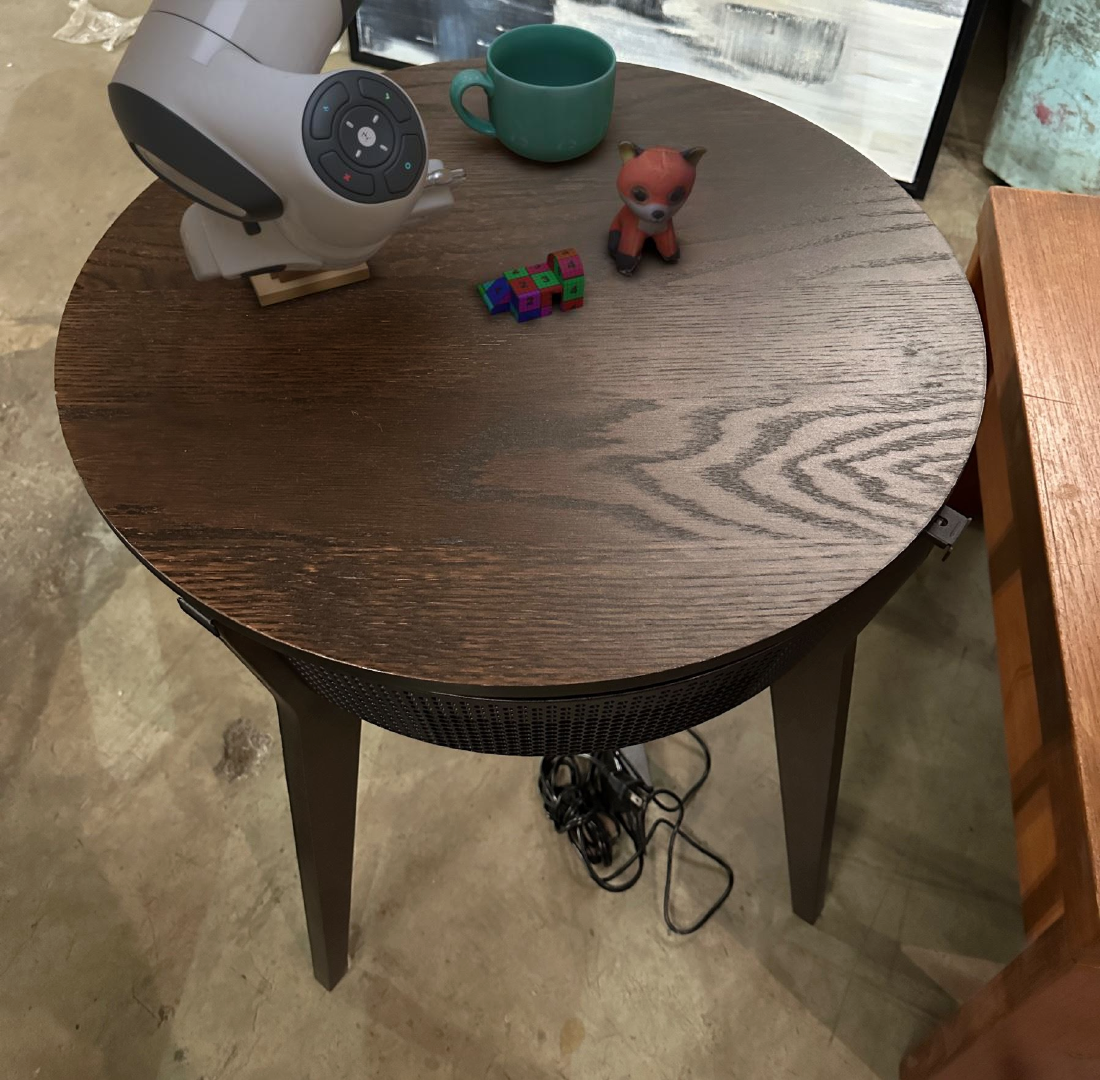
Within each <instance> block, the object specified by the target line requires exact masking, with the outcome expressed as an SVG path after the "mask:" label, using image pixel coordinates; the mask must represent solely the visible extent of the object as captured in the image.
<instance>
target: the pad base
mask: <svg viewBox="0 0 1100 1080" xmlns="http://www.w3.org/2000/svg"><path fill="white" fill-rule="evenodd" d="M248 279H249V281H250V283H251V285H252V289H253V290H254V292H255V295H256V297H257V299H258V301H259V303H260V306H261V307H266V306H269V305H273V304H277V303H281V302H284V301H289V300H292V299H297V298H300V297H303V296H307V295H311V294H315V293H319V292H323V291H327V290H330V289H334V288H337V287H338V288H339V287H341V286H344V285H349V284H354V283H357V282H360V281H361V282H362V281H364V280H368V279H371V275H370V267H369V266H368V264H367V261H366V262H364V263H362V264H361V265H359V266H356V267H354V268H350V269H346V270H338V271H330V270H322V269H319V270H314V271H303V270H286V271H281V272H275V273H267V274H262V275H256V276H251V277H248Z"/></svg>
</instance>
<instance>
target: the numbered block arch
mask: <svg viewBox="0 0 1100 1080" xmlns="http://www.w3.org/2000/svg"><path fill="white" fill-rule="evenodd" d="M476 287H477V288H476V289H477V290H476V291H477V293H478V294H479V296H480V298H481V299H482V301H483V302H484V305H485V306H486V308H487V309H488V312H489V313H490V315H496V314H501V313H505V312H508V311H510V312H511V314H512V315H513V317H514V318H515V320H516V322H517V323H518V324H520V323H523V322H527V321H528V322H529V321H531V320H535V319H539V318H543V317H546V316H550V315H552V304H553V303H552V299H553V295H554V294H555V295H556V294H559V293H560V307H559V308H560V311H561V312H565V311H570V310H574V309H578V308H581V307H584V295H585V271H584V266H583V262H582V260H581V257H580V255H579V253H578V251H577V250H576V249H575V248H573V247H570V248H567V249H562V250H558V251H554V252H550V253H548V254H547V257H546V262H542V263H538V264H534V265H529V266H525V267H520V268H516V269H512V270H509V271H508V270H507V271H504V272H502V277H499V278H496V279H493V280H490V281H487V282H485V283H482V284H480V285H477V286H476Z"/></svg>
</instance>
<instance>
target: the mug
mask: <svg viewBox="0 0 1100 1080" xmlns="http://www.w3.org/2000/svg"><path fill="white" fill-rule="evenodd" d="M485 57H486V58H485V70H486V71H485V72H483V71H482V70H479V69H474V68H468V69H464V70H462V71H460V72H458V73H457V74H456V75H455V76H454V77H453V79H452V80H451V83H450V85H449V94H448V95H449V101H450V104H451V106H452V108H453V110H454V112H455V113H456V114H457V117H459V119H460V120H461V121H462V122H463V124H465V126H467V127H468V128H470V129H471V130H472V131H474V132H476V133H478V134H481V135H484V136H486V137H491V138H497V139H498V140H499V142H501V143H502V144H503V145H504V146H505V147H506V148H508V149H509V150H510V151H512V152H514V153H516V154H517V155H518V156H521V157H525V158H528V159H530V160H533V161H537V162H542V163H558V162H564V161H568V160H569V161H570V160H572V159H575V158H578V157H581V156H584V155H585V154H587V153H589V152H590V151H592V150H593V149H594V148H595V147H597V146H598V145H599V143H601V141H602V140H603V139H604V137H605V135H606V133H607V131H608V128H609V126H610V123H611V119H612V114H613V107H614V98H615V87H616V75H617V55H616V52H615V50H614V48H613V47H612V46H611V45H610V43H609V42H607V40H605V39H604V38H602V37H601V36H600V35H598V34H595V33H593V32H591V31H589V30H586V29H583V28H580V27H577V26H572V25H566V24H558V23H536V24H535V23H534V24H528V25H523V26H522V25H521V26H518V27H515V28H512V29H510V30H507V31H505V32H503V33H501V34H500V35H498V36H497V37H495V39H493V40H492V41H491V43H490V44H489V45H488V47H487V50H486V56H485ZM471 87H479V88H482V89H483V92H484V94H485V95H486V101H487V113H488V119H489V120H487V119H484V118H482V117H479V116H477V115H476V114H474V113H472V112H471V111H469V110H468V108H466V107H465V106H464V104H463V101H462V100H463V95H464V94H465V92H466V90H467V89H469V88H471Z"/></svg>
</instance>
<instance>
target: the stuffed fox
mask: <svg viewBox="0 0 1100 1080" xmlns="http://www.w3.org/2000/svg"><path fill="white" fill-rule="evenodd" d="M617 147H618V152H619V153H618V154H619V157H620V159H621V162H622V166H621V169H620V171H619V172H618V175H617V177H616V190H617V193H618V196H619V198H620V199H621V201H622V202H623V203H624V204H623V206H622V207H621V208H620V210H619V211H618V212H617V214H616V215H615V217H614V218H613V220H612V222H611V224H610V227H609V232H608V241H607V248H608V251H609V252H610V254H611V256H612V257H613V258H614V259H615V265H616V266H615V267H616V270H617V271H619V273H622V275H624V276H626V277H632V271H633V270H634V269H635V267H636V266H637V264H638V263H639V262H640V260H641V258H642V250H643V247H644V243H645V241H646V239H648V238H650V239H651V240H652V241H653V243H654V244H656V250H657V252H659V254H660V255H661V256H662V258H663V260H665V261H666V262H670V261H673V260H674V261H678V262H679V261H681V249H680V246H679V242H677V238H676V232H675V227H674V222H673V217H674V216H675V215H676V214H677V213H678V212H679V211H680V210H681V208H682V207H683V206H684V205H685V203H686V202H687V201H688V198H689V197H690V195H691V193H692V190H693V188H694V185H695V181H696V177H697V166H698V164H699V163H700V160H701V159H702V157H703V156H704V155H705V154H706V153H707V152H708V150H709V149H708V148H707V147H703V146H695V147H691V148H689V149H686V150H683V151H680V150H679V149H676V148H673V147H670V146H667V145H657V146H652V147H647V148H644V149H643V148H641V147H640V146H638V145H637V144H636V143H634V142H632V141H629V140H623V141H619V142H618V143H617Z"/></svg>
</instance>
